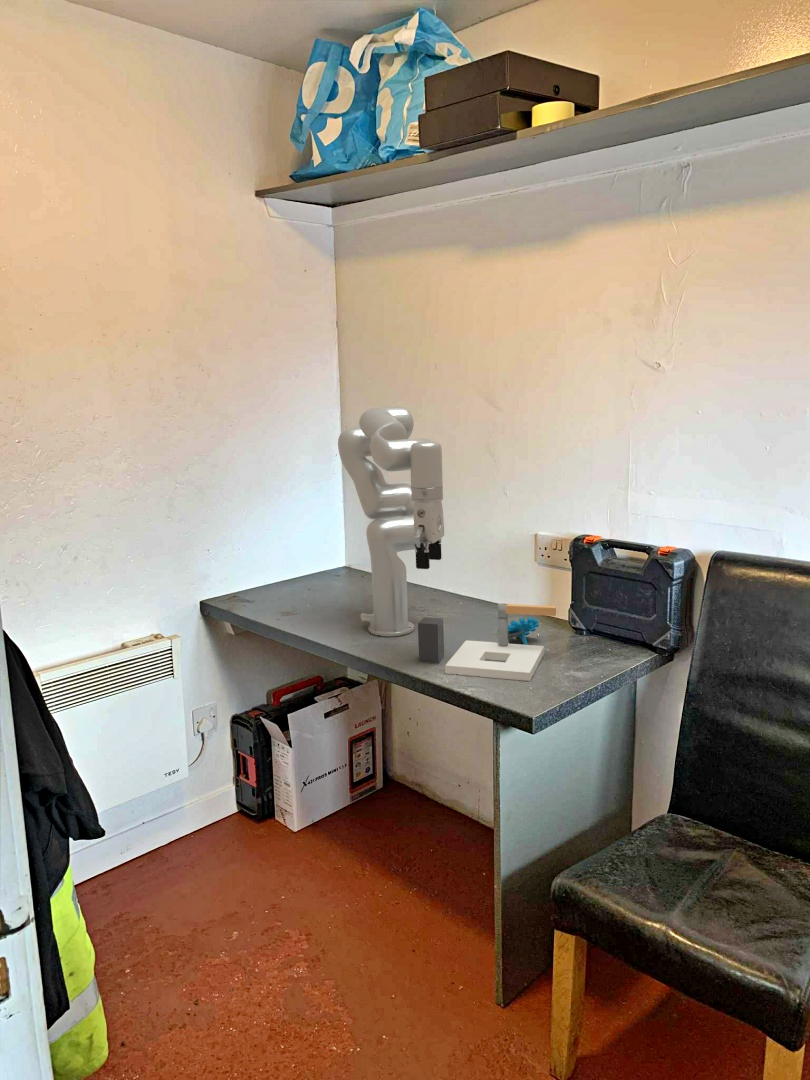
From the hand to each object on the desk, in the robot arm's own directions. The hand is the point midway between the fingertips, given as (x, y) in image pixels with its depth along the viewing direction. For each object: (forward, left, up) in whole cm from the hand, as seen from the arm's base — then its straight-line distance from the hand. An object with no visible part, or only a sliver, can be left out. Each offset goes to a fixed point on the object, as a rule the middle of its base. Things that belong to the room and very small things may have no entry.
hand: (429, 563), depth 198 cm
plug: (0, 0, -24) cm, 24 cm away
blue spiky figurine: (+18, +18, -25) cm, 35 cm away
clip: (+22, +9, -15) cm, 28 cm away
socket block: (+16, +1, -24) cm, 29 cm away
